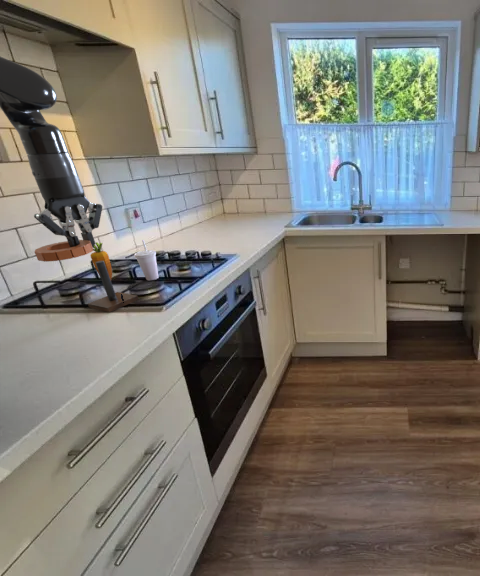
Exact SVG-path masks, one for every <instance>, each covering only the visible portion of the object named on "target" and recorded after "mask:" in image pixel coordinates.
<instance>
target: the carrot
mask: <svg viewBox="0 0 480 576" xmlns="http://www.w3.org/2000/svg"><path fill="white" fill-rule="evenodd" d="M102 246H103V242H96V241H95V245H94V248H93V251H92V252H91V253H90V259H91V261H92V264H93V266H94V268H95V270H96V272H97V274H98V275H99V276H100V274H99V271H98V268H97V266H96V262H98V261H104V263H105V266H106V268H107V271H108V274H109V277H110V280H111V281H112V278H113V268H112V264H111V263H112V262H111V261H110V257H109V253H107V252H106V251H105V250H102Z"/></svg>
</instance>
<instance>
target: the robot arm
mask: <svg viewBox="0 0 480 576" xmlns="http://www.w3.org/2000/svg"><path fill="white" fill-rule="evenodd" d="M57 100H58V97H57V92H56V90H55V88H54V87H53V85H52V84H51V83H50V82H49V81H48V80H47V79H46V78H45V77H44V76H42V75H41V74H39V73H38V72H36V71H34V70H33V69H31V68H28V67H26V66H25V65H22V64H20V63H17V62H14V61H12V60H10V59H8V58H5V57H2V56H0V109H1V111H2V112H3V113H4V115H5V117H6V118H7V119H8V122H9V123H10V124H11V125H12V127H13V128H14V129H15V131H16V132H17V134H18V135H19V138H20V141H21V144H22V146H23V149H24V151H25V153H26V154H25V155H26V156H27V160H28V165H29V168H30V169H31V175H32V176H33V177H34V180H35V182H36V185H37V187H38V189H39V192H40V195H41V197H42V199H43V200H44V209H43V210H42V211H41V212H39V213H34V215H33V217H34V219H35V220H37V221H38V222H39V223H40V224H42V225H43V227H45V228H46V229H47V230H49V231H50V232H51V233H53V235H55V236H61V237H62V236H63V237H65V238H66V241H68V243H69V246H70V248H71V247H74V246H77V245H79V244H80V242H79V240H80V239H79V237H78V235H76V229H75V223H76V224H77V226H78V228H79V230H80V231H81V232H80V235H81V238H82V240H88V241H90V242H91V245H92V247H93V249H94V245H95V246H96V244H95V243H96V241H95V238H94V235H93V230H95V229H98V228H99V227H100V222H101V216H102V213H103V205H102V204H100V203H94V202H91V201H90V200H89V199H88V198H87V197H86V195H85V190H84V187H83V185H82V181H81V179H80V176H79V173H78V171H77V168H76V165H75V163H74V161H73V158H72V157H71V155H70V152H69V150H68V146H67V144H66V141H65V139H64V136H63V134H62V131H61V130H60V128H59V127H58V126H56V125H54V124H52V123H49V122H47V121H46V119H45V117H44V115H43V114H42V112H41V111H44V110H48V109H51V108H53V107H54V106H55V105H56V103H57ZM87 212H88V215H87ZM53 216H54V217H55V218H56V219H57V220H58V223H59V225H58V224H57V223H56V222H55V221H54V220H53Z"/></svg>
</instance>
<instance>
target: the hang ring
mask: <svg viewBox="0 0 480 576" xmlns="http://www.w3.org/2000/svg"><path fill="white" fill-rule="evenodd" d="M79 242H80V244H79V245H77V246H74V247H71V248H70V246H69V243H68V241H67V240H66V241H60V242H54V243H51V244H50V243H49V244H47V245H43V246H40V247H38V248H35V250H34V254H35V257H36V258H37V261H38V262H40V261H41V262H43V263H44V262H58V261H66V260H70V259H71V260H72V259H75V258H79V257H82V256H83V257H84V256H86V255H88V254H91V253H93V252H94V251H93V249H94V248H93V247H92V245H91V242H90V241H88V240H83V239H79Z"/></svg>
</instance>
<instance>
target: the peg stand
mask: <svg viewBox="0 0 480 576" xmlns="http://www.w3.org/2000/svg"><path fill="white" fill-rule="evenodd" d="M96 266H97V268H98V271H99V273H98V275H99V274H100V275H99V277H100V280H101V282H102V286H103V288H104V291H105V294H106V296H104V297H101V298H98V299H96V300H93V301H91V302H88V303H87V306H88V308H89V309H92V310H97V311H102V312H107V313H111V312H113V311H116V310H118V309H120V308H123V307H125V306H127V305H130V304H132V303H135V302H137V301H139V296H138V295H137V294H131V293H126V292H120V291H117V292H115V289H114V286H113V282H112V279H111V280H110V277H109V274H108V271H107V268H106V266H105V263H104V261H98V262H96ZM121 294H122V295H123V299H124V301H122V299H121ZM123 302H124V303H123Z"/></svg>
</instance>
